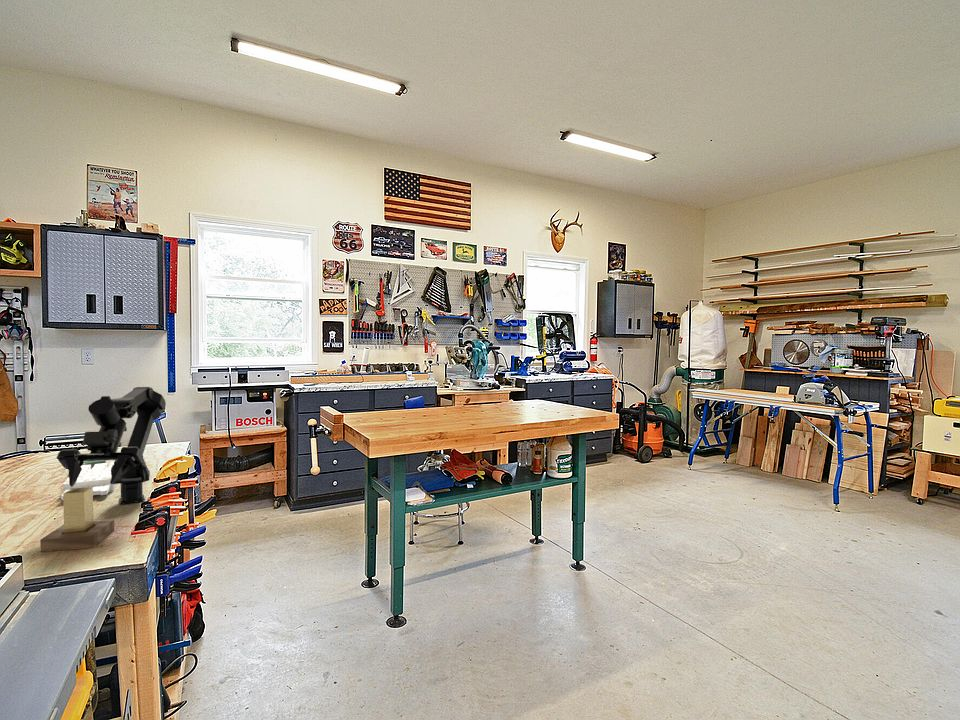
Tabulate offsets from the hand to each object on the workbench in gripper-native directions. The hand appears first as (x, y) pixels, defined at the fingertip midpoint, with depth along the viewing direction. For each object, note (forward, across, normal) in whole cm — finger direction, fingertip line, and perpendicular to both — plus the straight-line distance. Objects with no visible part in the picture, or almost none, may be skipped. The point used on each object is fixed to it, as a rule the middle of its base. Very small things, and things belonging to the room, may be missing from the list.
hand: (91, 484), depth 131 cm
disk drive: (-42, -32, +60) cm, 80 cm away
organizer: (-23, -19, +41) cm, 51 cm away
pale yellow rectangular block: (+14, 0, +4) cm, 14 cm away
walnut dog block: (+14, 0, +4) cm, 14 cm away
